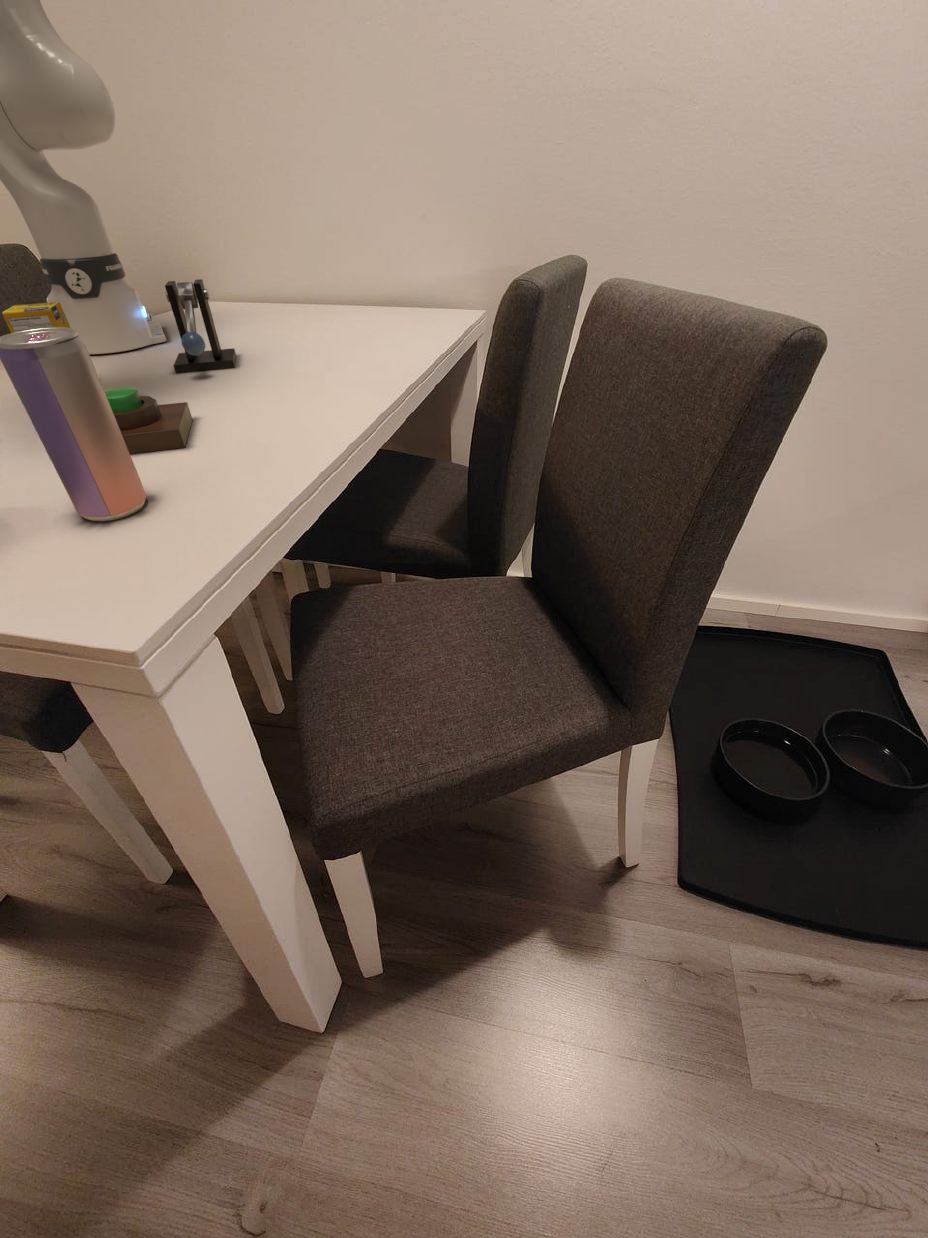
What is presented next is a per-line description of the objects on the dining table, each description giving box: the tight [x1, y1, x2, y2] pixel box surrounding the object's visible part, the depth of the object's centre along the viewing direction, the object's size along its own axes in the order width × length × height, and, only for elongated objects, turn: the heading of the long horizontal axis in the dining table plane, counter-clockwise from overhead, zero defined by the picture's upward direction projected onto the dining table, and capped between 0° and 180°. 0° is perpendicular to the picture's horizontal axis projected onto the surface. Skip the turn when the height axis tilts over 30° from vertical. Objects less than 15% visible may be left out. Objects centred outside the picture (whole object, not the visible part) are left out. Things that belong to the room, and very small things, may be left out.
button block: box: [113, 395, 193, 455], centre depth 66 cm, size 10×12×4 cm
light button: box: [104, 387, 143, 412], centre depth 65 cm, size 4×4×2 cm
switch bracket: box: [164, 278, 237, 374], centre depth 90 cm, size 8×9×12 cm
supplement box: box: [2, 302, 71, 333], centre depth 81 cm, size 6×6×11 cm
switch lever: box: [176, 281, 206, 356], centre depth 86 cm, size 13×3×3 cm, turn 16°
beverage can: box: [0, 327, 147, 522], centre depth 49 cm, size 6×6×15 cm
